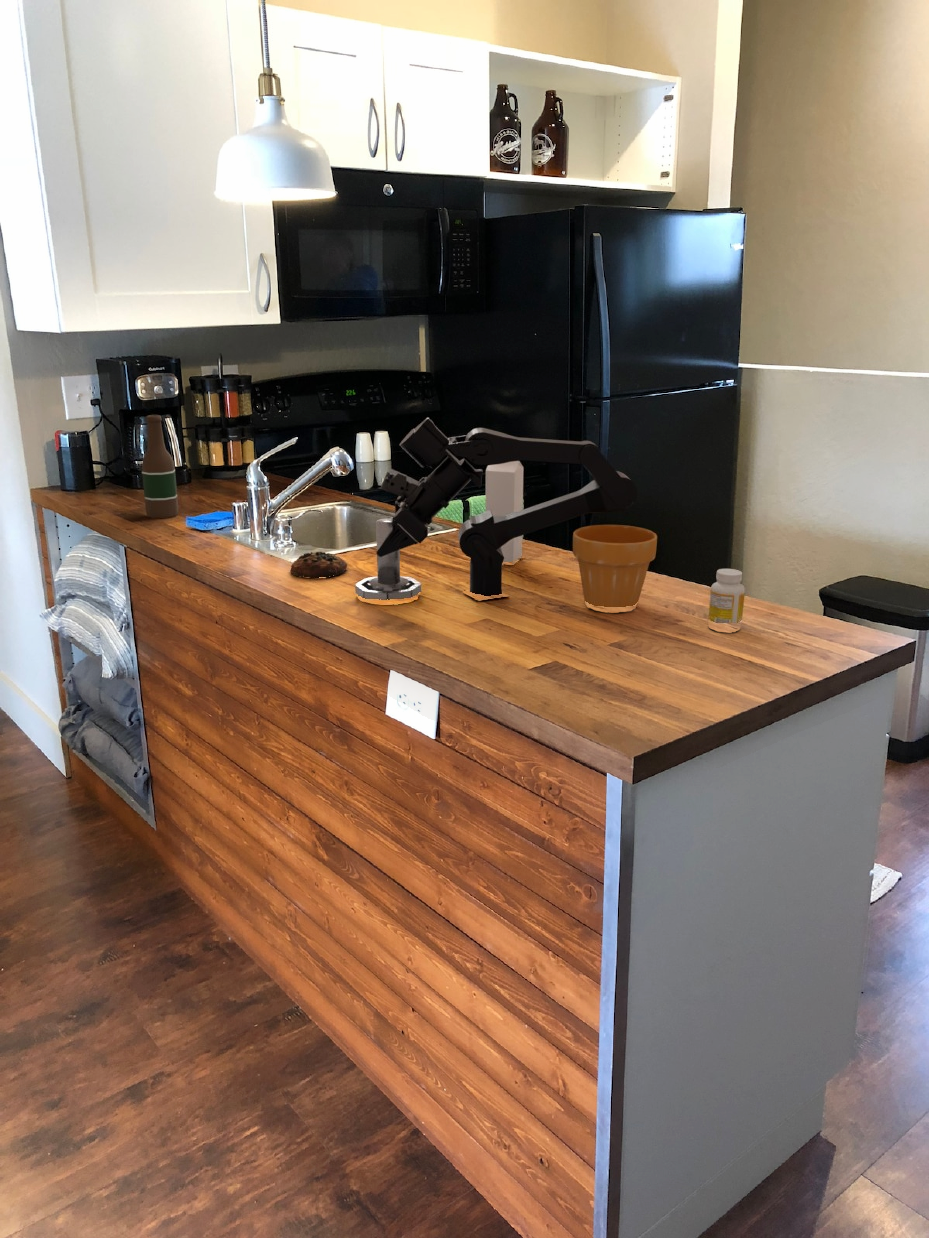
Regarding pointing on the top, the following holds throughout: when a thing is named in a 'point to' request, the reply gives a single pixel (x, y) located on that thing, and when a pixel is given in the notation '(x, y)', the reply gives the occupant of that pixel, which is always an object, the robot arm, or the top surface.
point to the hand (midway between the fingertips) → (379, 548)
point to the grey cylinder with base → (387, 564)
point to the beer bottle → (158, 474)
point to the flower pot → (613, 562)
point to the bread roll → (318, 565)
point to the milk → (506, 499)
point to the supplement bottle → (727, 597)
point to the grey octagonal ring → (400, 594)
